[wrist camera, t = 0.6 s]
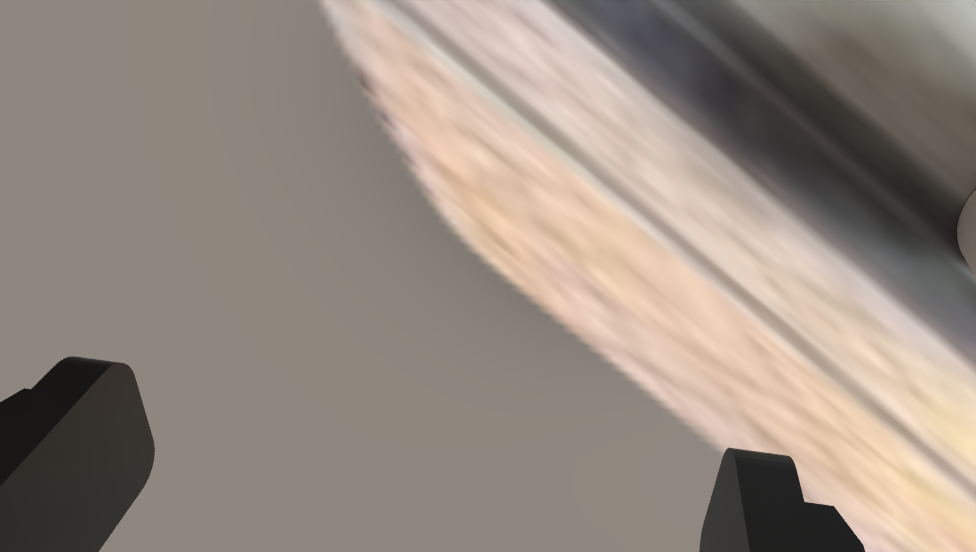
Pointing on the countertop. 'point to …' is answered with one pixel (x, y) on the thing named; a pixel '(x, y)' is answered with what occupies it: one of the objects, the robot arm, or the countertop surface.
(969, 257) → the white tapered bin
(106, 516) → the robot arm
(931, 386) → the countertop surface
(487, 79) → the countertop surface
